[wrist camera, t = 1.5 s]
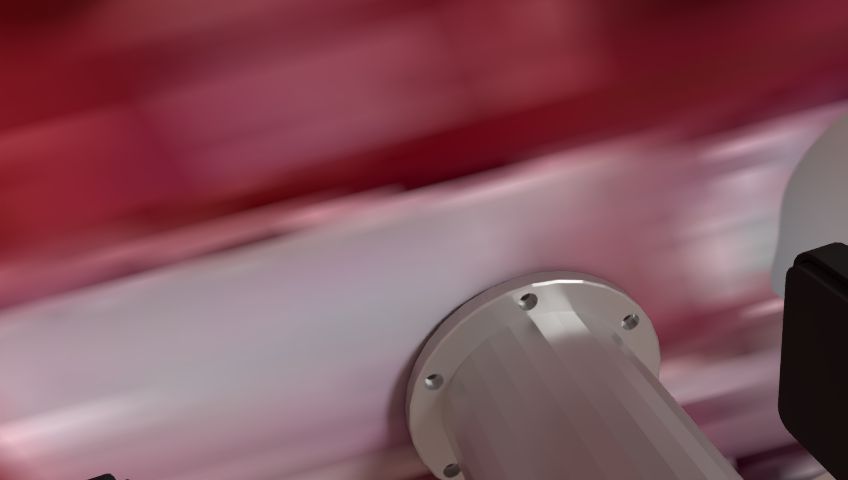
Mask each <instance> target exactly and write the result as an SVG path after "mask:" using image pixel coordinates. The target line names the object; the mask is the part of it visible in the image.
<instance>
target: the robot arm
mask: <svg viewBox="0 0 848 480" xmlns="http://www.w3.org/2000/svg"><path fill="white" fill-rule="evenodd" d="M660 360H661V357H660V350H659V343H658V338H657V335H656V333H655V330H654V328H653V325H652V323H651V321H650V320H649V318H648V317H647V316H646V314H645V313H644V312H643V310H642V309H641V308H640V306H639V305H638V304H637V303H636V302H635V301H634V300H633V299H632V298H631V297H630V296H629V295H628V294H627V293H626V292H625V291H623V290H622V289H620V288H618V287H617V286H615V285H614V284H612V283H610V282H609V281H607V280H604V279H601V278H598V277H595V276H592V275H589V274H587V273H579V272H570V271H552V272H538V273H534V274H530V275H526V276H522V277H518V278H514V279H511V280H508V281H506V282H504V283H501V284H499V285H497V286H494V287H492V288H490V289H487V290H486V291H484V292H483V293H481V294H479V295H478V296H476V297H475V298H473V299H471V300H470V301H468V302H467V303H465V304H464V305H463V306H461V307H460V308H459V309H458V310H457V311H456V312H454V313H453V314H452V315H451V316H450V317H449V318H448V319H446V320H445V321H444V322H443V323H442V325H441V326H440V327H439V328H438V329H437V331H436V332H435V333H434V334H433V335H432V337H431V338H430V339H429V340H428V341H427V343H426V345H425V347H424V348H423V350H422V352H421V353H420V355H419V357H418V359H417V360H416V362H415V365H414V368H413V370H412V373H411V376H410V379H409V382H408V386H407V393H406V401H405V411H406V420H407V427H408V429H409V432H410V435H411V438H412V442H413V445H414V447H415V449H416V451H417V453H418V455H419V457H420V458H421V460H422V462H423V464H424V465H425V466H426V467H427V468H428V469H429V470H430V471H431V472H432V473H433V475H434V476H435V477H437V478H438V479H440V480H743V479H742V478H741V476H740V475H739V474H738V473H737V472H736V471H735V469H734V468H733V467H732V466H731V465H730V463H729V462H728V461H727V460H726V459H725V458H724V456H723V455H722V454H721V453H720V452H719V451H718V449H717V448H716V447H715V446H714V445H713V444H712V442H711V441H710V440H709V439H708V438H707V437H706V435H705V434H704V433H703V432H702V431H701V430H700V428H699V427H698V426H697V425H696V424H695V423H694V421H693V420H692V419H691V418H690V417H689V416H688V414H687V413H686V412H685V411H684V410H683V408H682V407H681V406H680V405H679V404H678V403H677V401H676V400H675V399H674V398H673V397H672V396H671V394H670V393H669V392H668V391H667V390H666V389H665V387H664V386H663V385H662V384H661V383H660V382H659V380H658V379H659V371H660ZM778 411H779V415H780V418H781V420H782V423H783V424H784V426H785V428H786V429H787V430H788V431H789V432H790V434H791V435H792V436H793V437H794V438H795V439H796V440H797V441H798V442H799V443H800V444H801V445H802V446H803V447H804V448H805V449H806V450H807V451H808V452H809V453H810V454H811V455H812V456H813V457H814V458H815V459H816V460H817V461H818V462H819V463H820V464H821V465H822V466H823V467H824V468H825V469H826V470H827V471H828V472H829V473H830V474H831V475H832V476H833V477H834V478H835V479H836V480H848V245H845V244H843V243H836V242H835V243H832V244H828V245H825V246H822V247H819V248H816V249H813V250H810V251H807V252H803V253H801V254H799V255H797V257H796V258H795V260H794V265H793V267H791V268H789V269H788V271H787V274H786V282H785V299H784V315H783V331H782V348H781V364H780V380H779V397H778ZM88 480H116V479H115V478H114V476H112V475H111V474H104V475H101V476H98V477H95V478H91V479H88ZM127 480H129V479H127Z"/></svg>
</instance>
